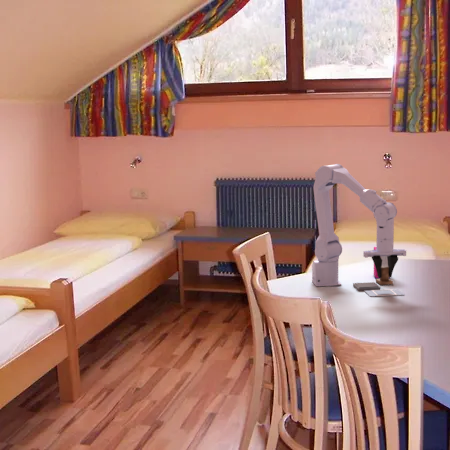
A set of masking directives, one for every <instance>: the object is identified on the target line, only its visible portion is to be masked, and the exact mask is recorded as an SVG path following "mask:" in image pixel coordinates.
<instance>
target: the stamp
mask: <svg viewBox="0 0 450 450" xmlns="http://www.w3.org/2000/svg"><path fill="white" fill-rule="evenodd" d="M375 283H376V284H377V285H378V286H379V287H386V286H388V287H389V286H394V281H393V280H392V279H391V278H390V279H389V267H387V266H381V278H380V279H375Z"/></svg>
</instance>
